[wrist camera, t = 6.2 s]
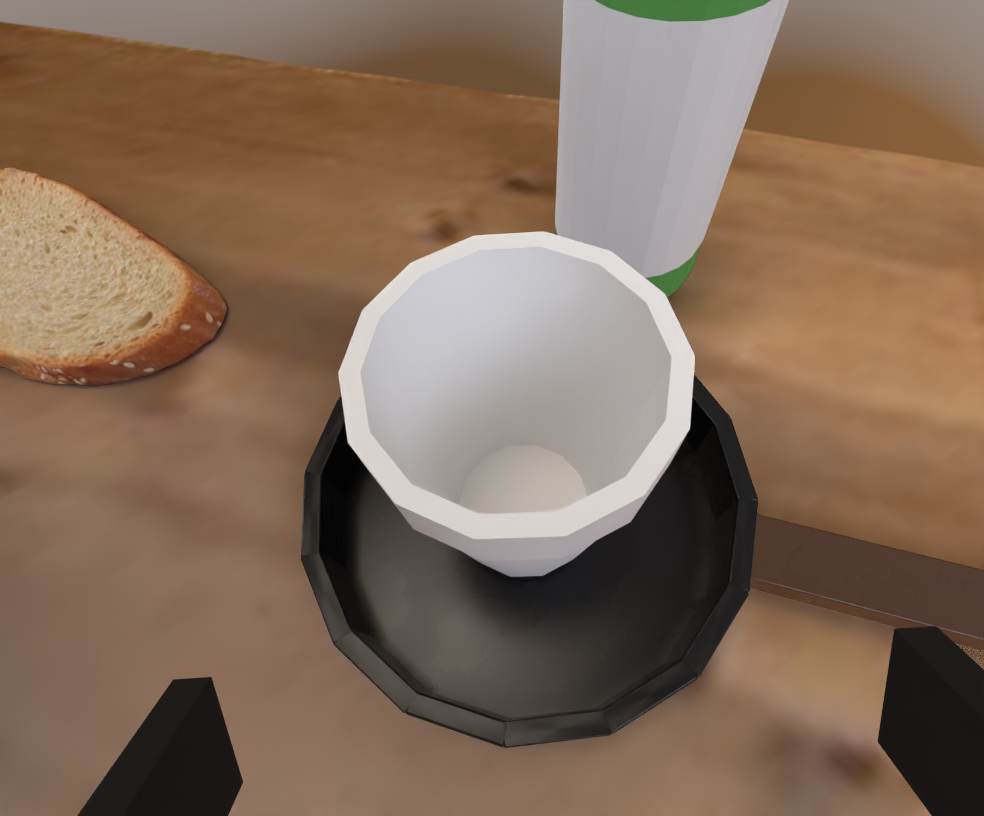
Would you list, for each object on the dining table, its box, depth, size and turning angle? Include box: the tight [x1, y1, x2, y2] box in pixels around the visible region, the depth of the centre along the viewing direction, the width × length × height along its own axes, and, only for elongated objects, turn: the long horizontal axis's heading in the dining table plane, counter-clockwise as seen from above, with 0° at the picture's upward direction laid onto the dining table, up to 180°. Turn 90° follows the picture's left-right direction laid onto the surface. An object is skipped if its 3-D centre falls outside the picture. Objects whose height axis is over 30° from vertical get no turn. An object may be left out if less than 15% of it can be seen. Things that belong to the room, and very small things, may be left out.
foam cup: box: [338, 231, 695, 577], centre depth 21 cm, size 10×9×13 cm
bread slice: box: [0, 167, 227, 385], centre depth 34 cm, size 18×18×4 cm
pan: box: [301, 375, 984, 748], centre depth 24 cm, size 32×19×4 cm, turn 74°
